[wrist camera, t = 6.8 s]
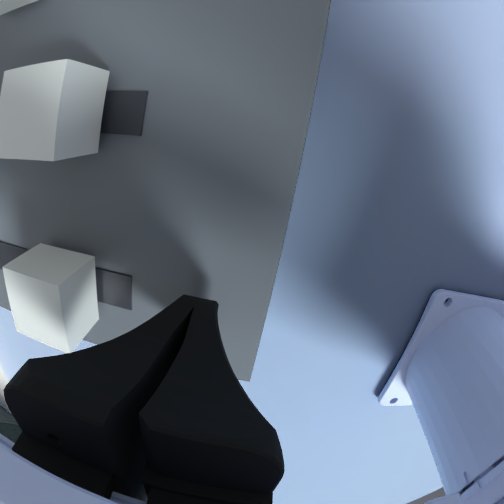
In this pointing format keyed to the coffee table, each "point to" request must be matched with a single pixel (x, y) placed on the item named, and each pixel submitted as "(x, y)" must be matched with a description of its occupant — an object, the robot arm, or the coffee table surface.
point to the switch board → (171, 153)
